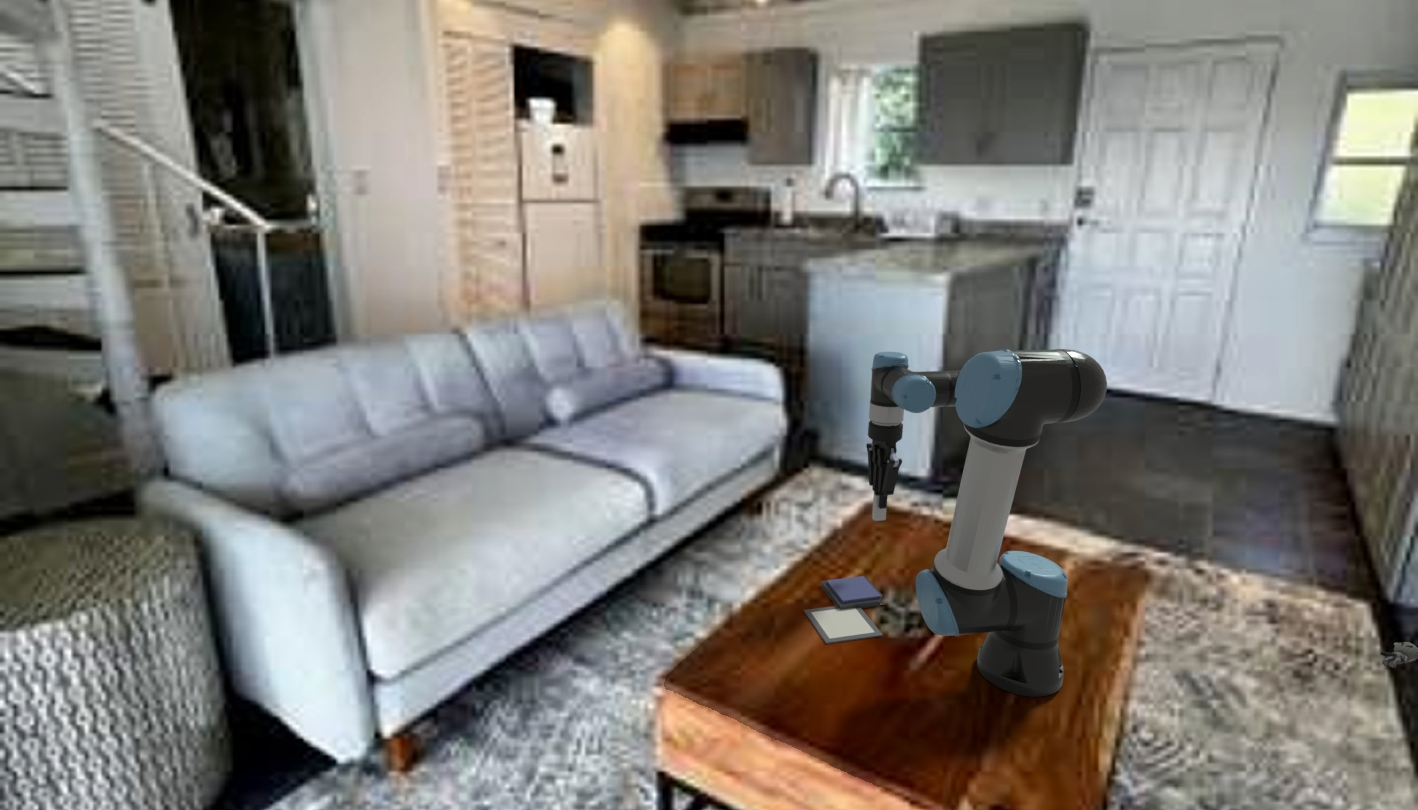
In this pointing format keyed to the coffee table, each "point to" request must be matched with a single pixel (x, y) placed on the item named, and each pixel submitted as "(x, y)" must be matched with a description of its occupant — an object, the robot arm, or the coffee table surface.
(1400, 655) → the grey lumpy piece
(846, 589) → the ink pad
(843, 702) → the coffee table surface
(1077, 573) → the coffee table surface
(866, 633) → the grey picture frame
